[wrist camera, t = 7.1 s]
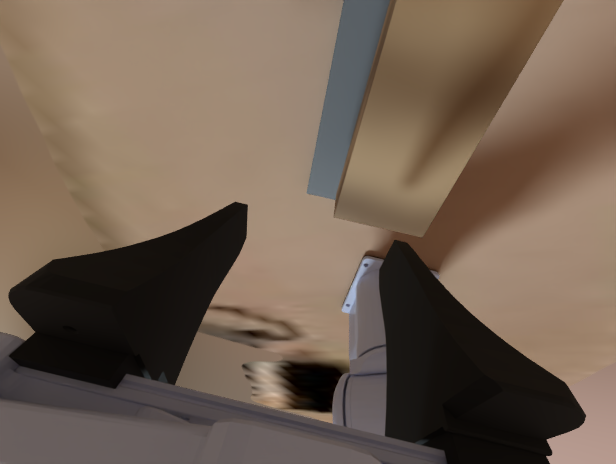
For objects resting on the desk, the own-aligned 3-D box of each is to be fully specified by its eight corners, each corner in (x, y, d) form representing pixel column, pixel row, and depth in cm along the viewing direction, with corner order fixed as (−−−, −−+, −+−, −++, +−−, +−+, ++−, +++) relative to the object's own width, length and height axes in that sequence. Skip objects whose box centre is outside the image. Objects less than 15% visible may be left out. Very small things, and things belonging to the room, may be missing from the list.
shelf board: (412, 211, 17) (422, 237, 15) (336, 194, 17) (333, 217, 15) (581, -113, 9) (668, -177, 6) (430, -146, 9) (460, -220, 6)
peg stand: (418, 212, 22) (430, 241, 18) (308, 187, 22) (300, 211, 18) (597, -123, 11) (707, -202, 8) (378, -170, 11) (390, -269, 8)
